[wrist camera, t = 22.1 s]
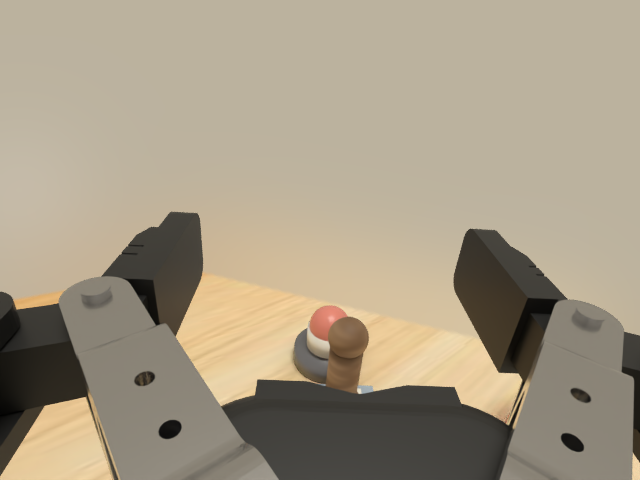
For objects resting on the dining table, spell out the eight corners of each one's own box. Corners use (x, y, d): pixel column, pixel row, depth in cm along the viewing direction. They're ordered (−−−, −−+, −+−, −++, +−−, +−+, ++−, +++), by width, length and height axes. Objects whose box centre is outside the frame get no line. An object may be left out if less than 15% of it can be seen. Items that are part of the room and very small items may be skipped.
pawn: (314, 427, 39) (323, 339, 34) (314, 387, 44) (322, 303, 38) (364, 429, 40) (381, 341, 34) (359, 389, 44) (373, 306, 39)
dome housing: (292, 382, 46) (293, 369, 45) (295, 334, 53) (295, 323, 52) (362, 385, 46) (364, 372, 45) (355, 337, 53) (357, 325, 52)
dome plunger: (306, 357, 46) (308, 323, 43) (306, 327, 50) (309, 295, 48) (351, 359, 46) (356, 325, 44) (347, 329, 51) (352, 297, 48)
